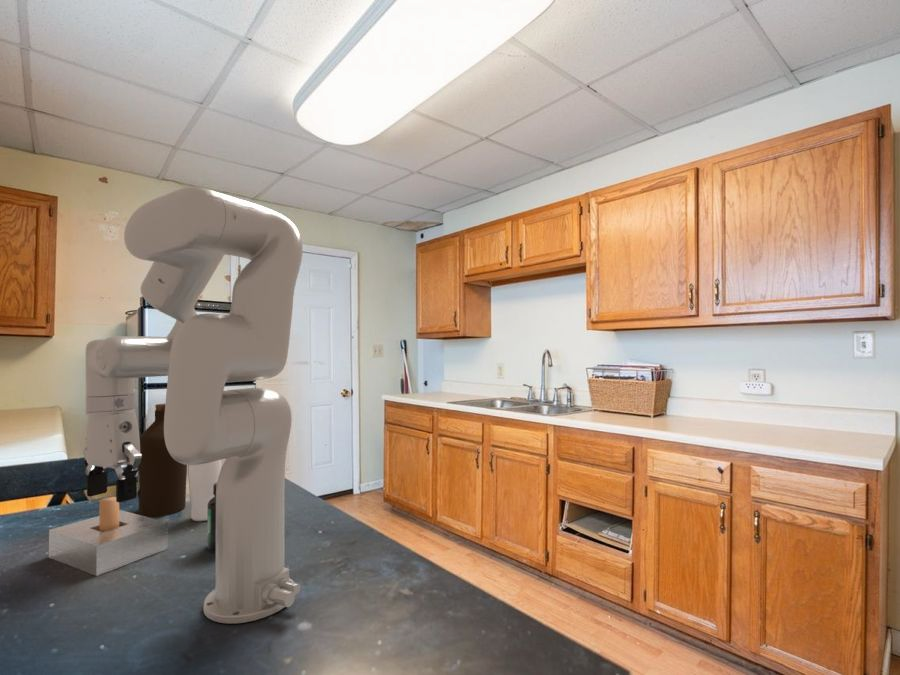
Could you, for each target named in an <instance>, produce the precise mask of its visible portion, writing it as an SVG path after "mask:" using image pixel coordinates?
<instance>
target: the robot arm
mask: <svg viewBox="0 0 900 675" xmlns="http://www.w3.org/2000/svg"><path fill="white" fill-rule="evenodd" d="M123 238H124V245H125V247H126V250H128V252H129V254H130V255H132V256H133V257H134V258H136V259H139V260H143V261H149V262H153V263H152V264H151V265H150V268H149V271H147V274H146V275H145V277H144V279H143V281H142V282H141V285H140V294H141V296H142V298H143V300H145V302H147V304H149V305H150V306H151V307H153V308H154V309H155V310H157V311H158V312H161V313H162V314H164V315H167V316H168V317H170V318H172V319H174V320H175V323H174V325H173V326H172V328H171V330H170V331H169V333H168V334H167V335H166V336H147V335H146V336H144V335H143V336H139V335H137V336H133V335H132V336H130V335H129V336H127V335H126V336H124V335H123V336H122V335H120V336H119V335H117V336H111V337H110V336H109V337H107V338H104V339H101V338H100V339H93V340H90V341H89V342H87V344H86V345H85V346H86V347H85V415H86V416H87V423H86V431H85V432H86V433H85V448H84V449H83V450H82V453H83V457H84V465H85V467H86V469H85V475H86V496H87V497H94V496H98V495H103V494H106V493H107V492H108V471H105V470H106V469H114V471H115V473H116V475H117V478H118V479H116V480H115V493H116V494H115V497H116V501H117V502H119V503H124V502H127V501H131V500H134V499H136V498H138V477H137V476H138V470H139V468H140V462H141V458H142V455H141V454H140V438H139V437H140V429H139V423H138V422H139V421H138V418H137V413H136V394H135V393H136V381H135V380H136V379H138V378H151V377H152V378H154V377H167V383H166V385H167V386H166V391H165V392H166V396H165V403H164V404H165V415H164V439H165V444H166V447H167V450H168V452H169V454H170V455H171V457H172V458H173V459H174V460H176V461H177V462H179V463H181V464H185V465H187V466H188V465H199V464H205V463H209V462H213V461H218V460H224V459H225V460H224V462H223V463H222V465H221V471H220V474H219V477H218V481H217V486H216V552H215V588H214V589H212V590H211V592H209V593H208V594H207V596H205V599H204V601H203V614H204V615H205V616H206V617H205V618H207V619H209V620H211V621H213V622H217V623H219V624H227V625H229V624H231V625H232V624H244V623H245V624H246V623H249V622H253V621H258V620H261V619H264V618H267V617H270V616H272V615H273V614H276V613H277V612H280V611H282V609H284V608H289V607H291V606H293V604H294V602H295V600H296V595H298V594H299V593H300V591H301V588H302V587H301V584H299V583H297V582H295V581H294V580H293V579H292V578H290V568H288V567H285V566H286V565H285V559H286V558H285V556H286V555H285V554H286V552H285V544H286V543H285V542H286V540H285V539H286V538H285V536H286V535H285V534H286V533H285V532H286V530H285V522H286V521H285V518H286V517H285V513H286V512H285V492H286V491H285V490H286V488H285V487H286V484H285V483H286V460H287V459H286V458H287V451H288V446H289V438H290V435H291V428H292V421H293V420H292V409H291V406H290V404H289V402H288V401H287V399H286V398H285V396H284V395H282V394H281V393H280V392H278V391H276V390H274V389H272V388H271V389H270V388H266V387H265V388H264V387H248V388H247V387H246V388H239V389H238V388H237V389H228V390H225V386H226V383H227V384H229V383H236V382H237V383H239V382H250V381H251V382H252V381H261V380H266V379H271V378H274V377H276V376H278V375H280V374H281V372H283V370H284V368H285V366H286V364H287V359H288V353H289V347H290V346H289V345H290V339H291V338H290V337H291V326H292V319H293V318H292V316H293V308H294V295H295V287H296V284H297V280H298V276H299V272H300V270H301V269H300V268H301V264H302V261H303V260H302V258H303V240H302V237H301V234H300V232H299V229H298V228H297V226H296V225H295V223H293V221H291V219H289V218H288V217H286V216H285V215H283V214H282V213H279V212H278V211H275V210H273V209H272V208H271V209H270V208H268V207H265V206H263V205H260V204H257V203H254V202H250V201H248V200H244V199H242V198H241V199H240V198H236V197H235V196H231V195H227V194H225V193H222V192H219V191H215V190H212V189H209V188H206V187H202V186H201V187H200V186H187V187H182V188H178V189H177V190H174V191H172V192H169V193H166V194H164V195H161V196H158V197H156V198H153V199H152V200H149V201H147V202H146V203H144V204H142V205H141V206H140V207H138V208H136V210H135V211H134V212H133V213H132V214H131V215H130V217H129V219H128V220H127V222H126V225H125V229H124V237H123ZM225 255H226V256H234V257H238V258H243V259H247V260H250V261H249V262H248V263H247V264H246V265H245V266H244V267H243V268H242V270H241V271H240V272H239V274H238V276H237V277H236V279H235V281H234V284H233V287H232V294H231V305H230V310H229V313H228V314H227V313H226V314H225V313H200V314H197V311H196V309H195V305H196V304H197V302H198V301H199V299H200V297H201V295H202V293H203V292H204V290H205V288H206V287H207V285H208V284H209V282H210V280H211V278H212V277H213V275H214V273H215V271H216V270H217V268H218V266H219V265H220V263H221V262H222V260H223V258H224V257H225ZM123 469H124V470H123Z"/></svg>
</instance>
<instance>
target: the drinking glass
mask: <svg viewBox="0 0 900 675" xmlns="http://www.w3.org/2000/svg"><path fill="white" fill-rule="evenodd" d="M222 460H223V459H222ZM222 460H218V461H213V462H209V463H205V464H199V465H187V479H188V487H189V488H188V489H189V490H188V491H189V500H190V501H189V502H190V517H191V520H192V521H194V522H207V506H208V502H209V501H210V500H211V499H212V498H213V497H215V495H213V486H214V484H215V483H217V481H218V477H219V474H220V471H221V469H222V466H223V463H222Z"/></svg>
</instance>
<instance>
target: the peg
mask: <svg viewBox="0 0 900 675" xmlns="http://www.w3.org/2000/svg"><path fill="white" fill-rule="evenodd" d="M119 510H120V502H117V501H116V496H108V497H104V498H102V499H99V510H98V511H99V513H98V514H99V515H98V516H99V531H100V532H105V531H108V530H112V529H115V528H118V527H119Z"/></svg>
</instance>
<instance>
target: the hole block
mask: <svg viewBox="0 0 900 675" xmlns="http://www.w3.org/2000/svg"><path fill="white" fill-rule="evenodd" d="M168 524H169V523H168V522H167V521H164V520H161V519H157V518H152V517H145V516H142V515H140V514H139V513H138V514H136V513H134V512H131V511H130V512H129V511H127V510H126V511H125V510H122V509H119V527H118V528H115V529H112V530H108V531H105V532H100V531H99V515H98V516H94V517H90V518H87V519H84V520H83V519H82V520H80V521H79V520H78V521H76V522H73V523H70V524H66V525H65V524H64V525H63V526H62V525H61V526H58V527H55V528H51V529H49V530H48V558H49V559H51V560H53V559H54V561H57V562H59V563H61V564H65V565H66V564H67V565H66V566H69V567H71V568H73V569H77V570H79V569H80V570H79V571H82V572H85V573H88V574H90V575H93V576H95V577H98V576H100V575H103V574H105V573H108V572H110V571H113V570H116V569H119V568H121V567H124V566H126V565H129V564H132V563H134V562H136V561H137V562H138V561H139V560H143V559H145V558H147V557H150V556H153V555H156V554H158V553H160V552H163V551H166V550H167V549H168V548H169V547H168V540H169V539H168V537H169V536H168V533H169V531H168V529H169V527H168V526H169V525H168Z"/></svg>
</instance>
